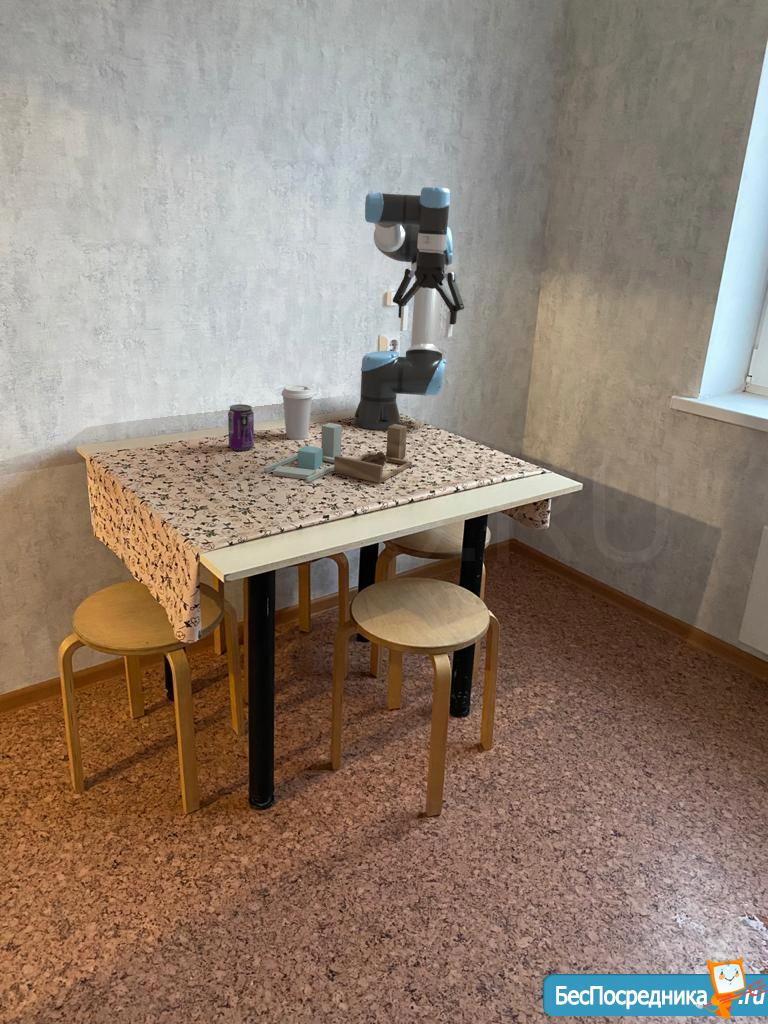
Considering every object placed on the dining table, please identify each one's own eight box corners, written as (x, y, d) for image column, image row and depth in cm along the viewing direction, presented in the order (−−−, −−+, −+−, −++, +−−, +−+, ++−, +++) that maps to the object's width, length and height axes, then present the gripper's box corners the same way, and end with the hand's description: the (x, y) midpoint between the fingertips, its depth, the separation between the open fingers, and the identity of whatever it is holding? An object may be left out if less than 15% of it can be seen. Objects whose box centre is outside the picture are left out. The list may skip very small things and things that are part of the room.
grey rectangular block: (279, 469, 205) (279, 465, 204) (315, 474, 203) (315, 470, 202) (273, 475, 201) (273, 470, 200) (309, 479, 199) (309, 475, 198)
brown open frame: (377, 451, 224) (379, 420, 220) (420, 460, 218) (422, 429, 214) (334, 472, 205) (334, 439, 201) (379, 483, 198) (381, 449, 195)
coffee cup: (297, 443, 228) (298, 393, 222) (274, 436, 233) (274, 387, 228) (319, 436, 235) (320, 388, 229) (296, 430, 240) (296, 382, 235)
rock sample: (371, 448, 214) (374, 435, 206) (387, 469, 212) (391, 457, 204) (340, 467, 211) (342, 455, 203) (356, 489, 210) (359, 478, 201)
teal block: (305, 463, 212) (305, 445, 210) (322, 465, 210) (322, 448, 208) (297, 468, 207) (297, 450, 205) (314, 471, 206) (314, 453, 204)
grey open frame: (314, 450, 222) (314, 419, 218) (356, 459, 216) (357, 428, 212) (264, 471, 203) (263, 438, 199) (308, 482, 196) (308, 448, 193)
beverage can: (251, 452, 218) (251, 410, 213) (226, 450, 218) (225, 409, 213) (256, 444, 224) (255, 404, 220) (231, 443, 224) (230, 403, 220)
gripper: (382, 248, 204) (379, 329, 212) (469, 255, 193) (462, 340, 201) (396, 247, 210) (392, 326, 218) (481, 254, 199) (473, 337, 207)
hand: (425, 333), depth 209 cm, fingers open, 13 cm apart
